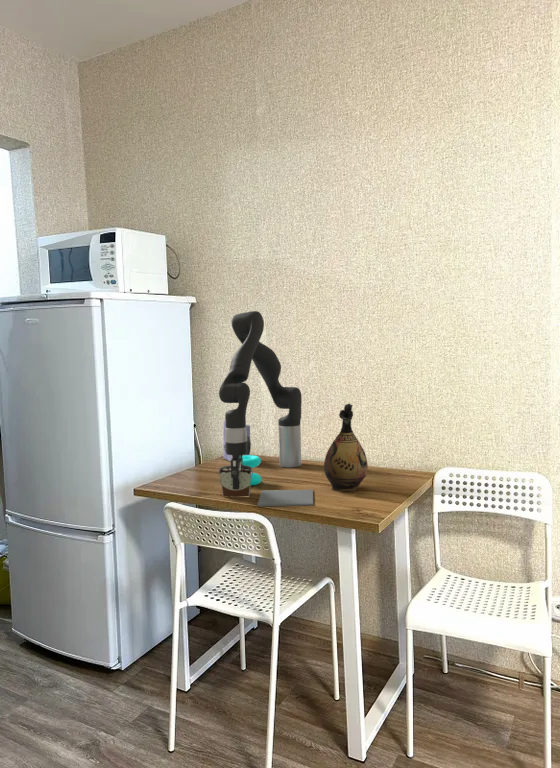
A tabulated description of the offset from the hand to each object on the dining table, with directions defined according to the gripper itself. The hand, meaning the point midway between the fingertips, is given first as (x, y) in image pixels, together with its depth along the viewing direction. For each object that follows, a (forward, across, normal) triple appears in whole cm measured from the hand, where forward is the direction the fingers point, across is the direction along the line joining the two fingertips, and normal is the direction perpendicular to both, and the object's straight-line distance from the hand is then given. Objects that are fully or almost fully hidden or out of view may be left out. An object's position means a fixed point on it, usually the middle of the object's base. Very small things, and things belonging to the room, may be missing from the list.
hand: (237, 486), depth 211 cm
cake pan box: (+3, +55, +7) cm, 55 cm away
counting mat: (+3, -6, -17) cm, 18 cm away
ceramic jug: (+3, +7, -38) cm, 39 cm away
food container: (+3, 0, 0) cm, 3 cm away
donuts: (+3, +16, -2) cm, 17 cm away
